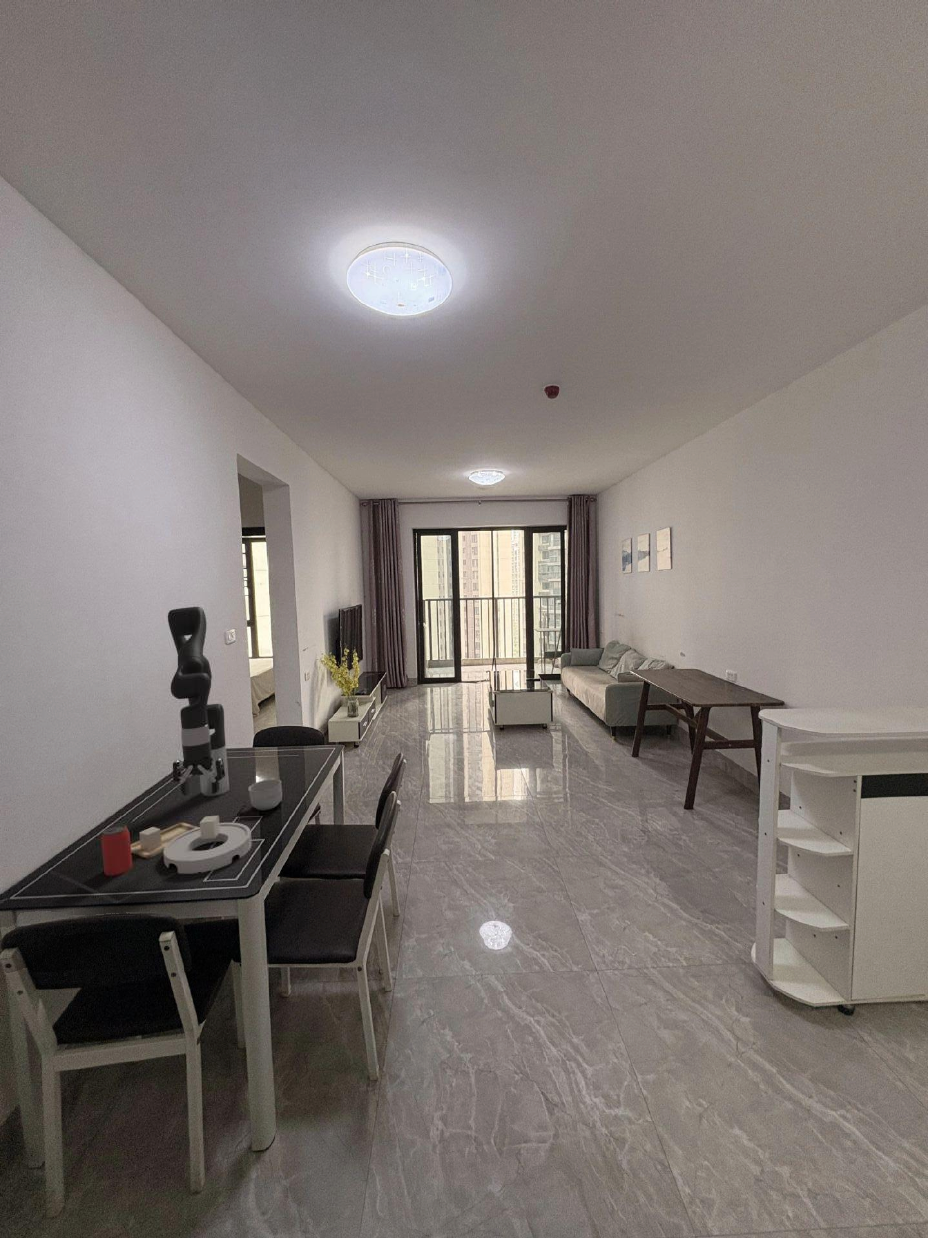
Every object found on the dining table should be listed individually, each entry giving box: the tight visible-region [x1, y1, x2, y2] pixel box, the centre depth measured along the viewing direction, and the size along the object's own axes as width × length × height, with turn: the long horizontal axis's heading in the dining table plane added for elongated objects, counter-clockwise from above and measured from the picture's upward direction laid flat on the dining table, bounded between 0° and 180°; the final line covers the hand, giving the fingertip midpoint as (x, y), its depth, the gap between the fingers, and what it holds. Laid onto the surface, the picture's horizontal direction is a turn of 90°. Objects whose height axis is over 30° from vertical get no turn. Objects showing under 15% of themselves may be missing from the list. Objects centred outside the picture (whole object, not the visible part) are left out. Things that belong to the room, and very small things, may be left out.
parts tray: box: [130, 821, 200, 859], centre depth 167 cm, size 12×18×1 cm, turn 150°
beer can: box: [101, 824, 133, 876], centre depth 151 cm, size 7×7×12 cm
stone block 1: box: [139, 826, 162, 851], centre depth 163 cm, size 4×4×5 cm
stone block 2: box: [199, 815, 220, 839], centre depth 163 cm, size 4×4×5 cm
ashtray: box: [162, 822, 253, 875], centre depth 160 cm, size 23×23×4 cm
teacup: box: [247, 777, 283, 811], centre depth 192 cm, size 14×11×8 cm
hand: (200, 794), depth 163 cm, fingers open, 8 cm apart
